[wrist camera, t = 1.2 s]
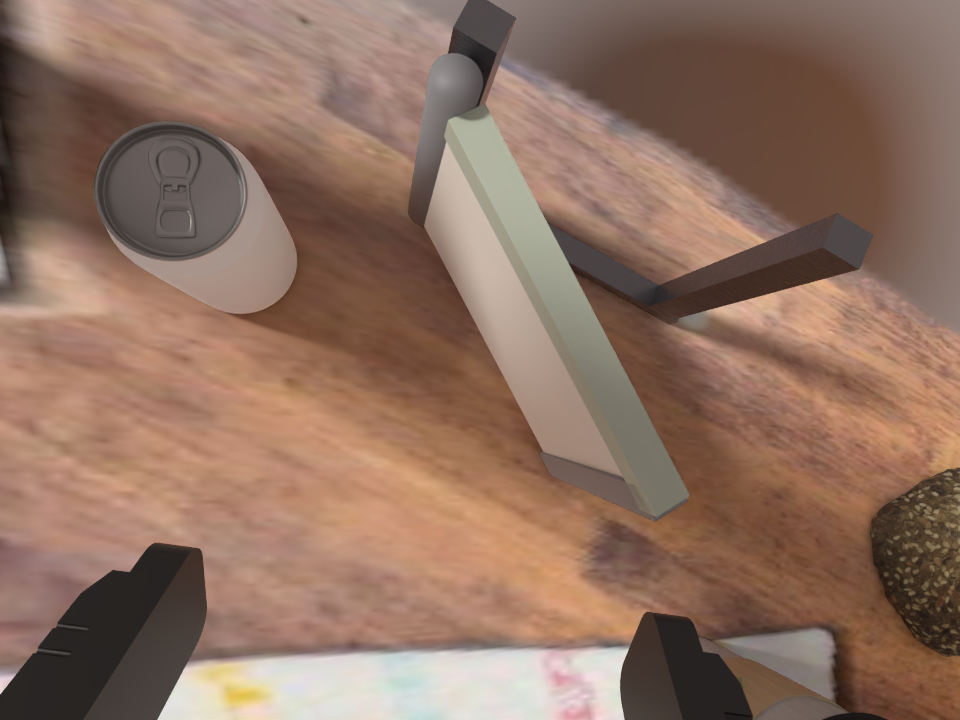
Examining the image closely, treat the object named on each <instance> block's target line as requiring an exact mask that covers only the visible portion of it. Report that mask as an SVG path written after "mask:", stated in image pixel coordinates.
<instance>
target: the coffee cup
mask: <svg viewBox="0 0 960 720" xmlns="http://www.w3.org/2000/svg"><path fill="white" fill-rule="evenodd" d="M698 637H699V636H698ZM699 640H700V643H701V646H702V649H703V652H708V653H716V654H719V655H720V657H721V658H722V659H723V661H724V662H725V663H726V665H727V666H728V667H729V669H730V670H731V671H732V673H733V674H734V675H735V677H736V678H737V679H738V681H739V682H740V683H741V686H742V688H743V691H744V694H745V696H746V699H747V701H748V704H749V707H750V709H751V712H752V714H753V720H887V719H885V718H882V717H879V716H876V715H872V714H866V713H849V712H847V711H846V710H845V709H843V708H842V707H840V706H839V705H837V704H836V703H834V702H832V701H830V700H828V699H826V698H824V697H823V696H821V695H819V694H817V693H815V692H813V691H811V690H809V689H807V688H805V687H803V686H801V685H800V684H798V683H796V682H794V681H792V680H790V679H788V678H786V677H784V676H782V675H780V674H778V673H777V672H775V671H773V670H771V669H769V668H767V667H765V666H763V665H761V664H759V663H757V662H754V661H752V660H749V659H745V658H742V657H740V656H738V655H736V654H734V653H733V652H731V651H729V650H727V649H725V648H723V647H721V646H719V645H717V644H715V643H713V642H711V641H709V640H707V639H705V638H703V637H699Z"/></svg>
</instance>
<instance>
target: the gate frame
mask: <svg viewBox="0 0 960 720" xmlns="http://www.w3.org/2000/svg"><path fill="white" fill-rule="evenodd" d="M515 20H516V18H515V17H514V16H512V15H510V14H509V13H507V12H505V11H504V10H502V9H501V8H499V7H497V6H495V5H494V4H492V3H491V2H489V1H487V0H468V2H467V4H466V5H465V7H464V9H463V11H462V13H461V15H460V17H459V18H458V20H457V22H456V23H455V25H454V27H453V32H452V37H451V42H450V46H449V51H448V54H450V53H457V54H462V55H465V56H467V57H469V58H470V59H471V60H473V61H474V62H475V63H476V64H477V66H478V67H479V69H480V71H481V73H482V77H483V87H482V91H481V94H480V97H479V100H478V103H477V106H476V107H478V106H481V105H483V104H485V103H486V100H487V97H488V94H489V92H490V89H491V86H492V83H493V80H494V78H495V75H496V72H497V69H498V67H499V64H500V61H501V58H502V56H503V53H504V50H505V47H506V45H507V42H508V39H509V36H510V33H511V31H512V28H513V25H514V23H515ZM548 225H549V227H550V229H551V231H552V233H553V235H554V237H555V238H556V240H557V242H558V244H559V246H560V248H561V250H562V252H563V254H564V256H565V258H566V260H567V261H568V263H569V265H570V267H571V269H572V271H574V272H576V273H578V274H580V275H582V276H583V277H585V278H587V279H589V280H591V281H592V282H594V283H596V284H598V285H600V286H601V287H603V288H605V289H607V290H609V291H610V292H612V293H614V294H616V295H618V296H619V297H621V298H623V299H625V300H627V301H628V302H630V303H632V304H634V305H636V306H638V307H639V308H641V309H643V310H645V311H647V312H648V313H650V314H652V315H654V316H656V317H657V318H659V319H661V320H663V321H665V322H666V323H668V324H672V323H676V322H677V321H678V319H679V318H681V317H684V316H688V315H692V314H695V313H699V312H703V311H707V310H710V309H714V308H718V307H721V306H725V305H729V304H733V303H736V302H740V301H744V300H747V299H751V298H755V297H758V296H762V295H766V294H770V293H773V292H777V291H781V290H784V289H788V288H792V287H796V286H799V285H803V284H807V283H810V282H814V281H818V280H822V279H825V278H829V277H833V276H836V275H840V274H844V273H848V272H851V271H855V270H859V269H860V266H861V264H862V261H863V259H864V257H865V254H866V252H867V249H868V246H869V244H870V242H871V239H872V237H873V235H872V234H870V233H869V232H867V231H866V230H864V229H862V228H861V227H859V226H858V225H856V224H854V223H852V222H851V221H849V220H847V219H846V218H844V217H843V216H841V215H840V214H838V213H837V214H834V215H832V216H829V217H827V218H824V219H822V220H819V221H817V222H814V223H812V224H809V225H807V226H804V227H802V228H799V229H797V230H795V231H792V232H790V233H787V234H785V235H782V236H780V237H777V238H775V239H772V240H770V241H767V242H765V243H762V244H760V245H757V246H755V247H753V248H750V249H748V250H745V251H743V252H740V253H738V254H735V255H733V256H730V257H728V258H725V259H723V260H720V261H718V262H715V263H713V264H711V265H708V266H706V267H703V268H701V269H698V270H696V271H693V272H691V273H688V274H686V275H683V276H681V277H678V278H676V279H673V280H671V281H669V282H666V283H664V284H661V285H657V284H656V283H654V282H652V281H650V280H649V279H647V278H645V277H643V276H641V275H640V274H638V273H636V272H634V271H633V270H631V269H629V268H627V267H625V266H624V265H622V264H620V263H618V262H617V261H615V260H613V259H611V258H609V257H608V256H606V255H604V254H602V253H601V252H599V251H597V250H595V249H593V248H592V247H590V246H588V245H586V244H584V243H583V242H581V241H579V240H577V239H576V238H574V237H572V236H570V235H568V234H567V233H565V232H563V231H561V230H560V229H558V228H556V227H554V226H552V225H551V224H549V223H548Z"/></svg>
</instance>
